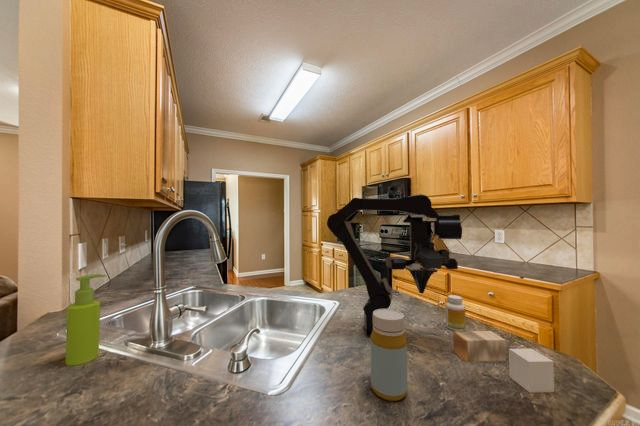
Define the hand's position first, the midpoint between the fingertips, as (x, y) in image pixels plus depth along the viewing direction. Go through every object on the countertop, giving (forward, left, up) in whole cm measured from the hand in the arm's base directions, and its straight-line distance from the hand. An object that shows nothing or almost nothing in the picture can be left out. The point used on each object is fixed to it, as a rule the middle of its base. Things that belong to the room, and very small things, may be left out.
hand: (421, 293), depth 72 cm
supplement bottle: (+14, +7, -13) cm, 20 cm away
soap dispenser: (-87, -7, -13) cm, 88 cm away
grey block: (+14, -20, -13) cm, 28 cm away
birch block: (+5, -9, -11) cm, 15 cm away
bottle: (-16, -21, -13) cm, 30 cm away
